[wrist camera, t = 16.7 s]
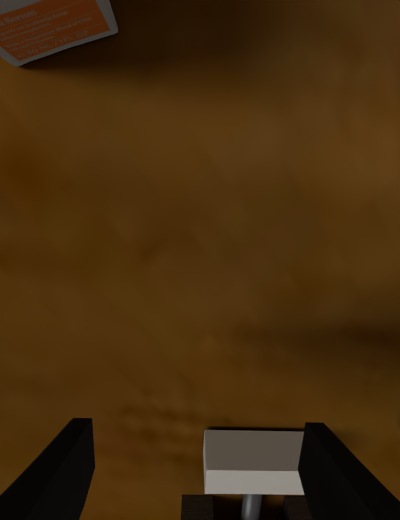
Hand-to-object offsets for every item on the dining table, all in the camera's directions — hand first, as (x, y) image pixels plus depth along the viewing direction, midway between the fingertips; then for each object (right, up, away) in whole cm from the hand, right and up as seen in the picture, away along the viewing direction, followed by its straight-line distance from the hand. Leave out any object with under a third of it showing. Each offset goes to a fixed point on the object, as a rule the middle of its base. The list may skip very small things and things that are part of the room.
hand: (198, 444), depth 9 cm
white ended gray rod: (+4, -18, +14) cm, 24 cm away
